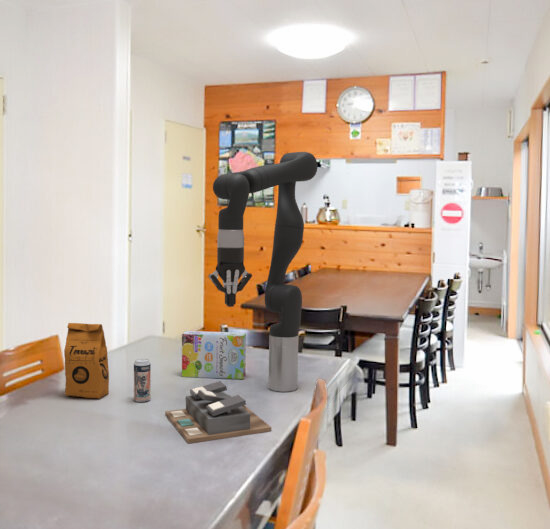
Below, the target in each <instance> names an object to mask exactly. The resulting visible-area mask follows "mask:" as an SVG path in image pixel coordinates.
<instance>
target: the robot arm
mask: <svg viewBox="0 0 550 529" xmlns="http://www.w3.org/2000/svg"><path fill="white" fill-rule="evenodd" d="M317 172H318V161H317V159H316V157H315V156H314V154H312V153H310V152H308V151H298V152H297V151H296V152H287V153H284V154H283V155H282V156H281V158H280V160H279V162H278V163H271V164H264V165H259V166H254V167H251V168H249V169H245V170H241V171H235V172H229V173H223V174H220V175H219V176H217V177H216V178H215V180H214V181H213V183H212V192H213V193H214V195H215V196H216V197H217V198H218V199H221V200H227V201H228V200H229V201H228V203H227V207H225V208H221V209H220V210H219V211H218V225H217V226H218V228H217V229H218V231H217V237H216V238H217V241H216V242H217V244H216V247H217V248H216V249H217V251H216V252H217V255H216V262H217V264H216V267H215V270H214V271H213V272H212V273H210V274H208V275H207V277H208V278H209V280H211V282H212V284H213V285H214V286H215V287H216V289H217V290H218V291H219V292H221V293H224V304H225V305H226V307H228V308H231V307H235V305H236V303H237V293H238V292H242V291H243V290H244V288H245V286H246V285H247V284H248V283H249V281H250V280H251V278H252V276H253V274H252V273H249V271H247V270H246V267H245V264H244V262H245V234H244V214H245V211H246V208H247V205H248V204H247V203H248V200H249V196H250V194H255V193H259V192H262V191H264V190H269V189H270V188H273V187H276V186H277V205H276V216H275V224H274V232H273V243H272V252H271V253H272V254H271V260H270V266H269V271H268V277H267V280H266V285H265V291H264V305H265V308H266V309H267V311H269V312H270V313H271V312H272V313H276V314H277V313H278V314H282V315H281V320H280V322H277V323H273V324H271V325H270V326H269V340H268V346H269V347H268V389H269V390H271V391H274V392H282V393H283V392H284V393H285V392H286V393H287V392H293V391H296V390H297V389H298V377H299V376H298V374H299V373H298V372H299V370H298V369H299V367H298V366H299V364H298V363H299V330H300V327H301V324H302V323H301V322H302V307H303V295H302V291H301V289H300V287H299V286H297V285H294V284H288V283H287V284H286V283H285V280H286V275H287V270H288V269H289V266H290V264H291V262H292V261H293V260H294V258H295V256H297V254H298V252H299V250H300V249H301V247H302V245H303V238H304V229H305V221H304V218H303V215H302V212H301V210H300V209H299V205H298V203H297V201H296V183H298V182H307V181H311V180H312V179H313V178H314V177H315V176H316V175H317ZM219 278H220V279H221V280H222V283H221V281H220V280H219ZM240 278H241V279H240Z"/></svg>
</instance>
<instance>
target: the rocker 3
mask: <svg viewBox="0 0 550 529" xmlns="http://www.w3.org/2000/svg"><path fill="white" fill-rule="evenodd" d="M246 405H247V403H246V399H244V398H243V397H242V396H240V395H239V394H237V395H234V396H231V397H230V398H227V399H224V400H221V401H218V402H215V403H213V404H210V405H207V406H206V409H207V411H208V412H209V413H210V414H211V415H212V416H216V415H218V414H221V413H224V412H227V413H231V410H233V409H236V408H238V407H241V406H246Z"/></svg>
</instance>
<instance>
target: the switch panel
mask: <svg viewBox="0 0 550 529" xmlns="http://www.w3.org/2000/svg"><path fill="white" fill-rule="evenodd" d="M219 393H220V394H226V395H228V394H227V393H226V391H223V392H219ZM213 403H214V402H213V401H207V400H203V399H202V398H199V399H195V398H194V397H193V396H192V395H191V394H189V395H185V408H182V409H174V410H167V411H165V412H164V413H165V414H164V415H165V416H167V417H166V418H167V419H168V420H169V422H170V423H171V424H172V425H173V426H174V427H175V430H177V431H178V433H179V434H180V436H182V437H183V439H184V440H185V442H186V443H187V444H188V445H189V444H194V443H202V442H207V441H213V440H214V441H215V440H221V439H228V438H234V437H242V436H248V435H254V434H262V433H267V432H272V426H271V425H269V424H268V423H267V422H265V421H264V419H261V418H260V416H258V415H257V414H255V413H254V411H252V410H251V409H249V408H248V407H247V406H246V405H244V406H241V407H238V408H236V409H233V410H231V413H227V412H224V413H221V414H218V415H216V416H212V415H211V414H210V413H209V412H208V411H207V409H206V406H207V405H210V404H213Z"/></svg>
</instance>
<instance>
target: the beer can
mask: <svg viewBox="0 0 550 529" xmlns="http://www.w3.org/2000/svg"><path fill="white" fill-rule="evenodd" d="M151 366H152V365H151V361H150V360H149V359H148V358H137V359H136V360H135V361H134V363H133V401H135V402H137V403H146V402H145V401H147V402H148V401H149V400H151V399H152V398H151V397H152V396H151V395H152V394H151V391H152V390H151V386H152V385H151V383H152V380H151V378H152V376H151V375H152V374H151Z"/></svg>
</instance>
